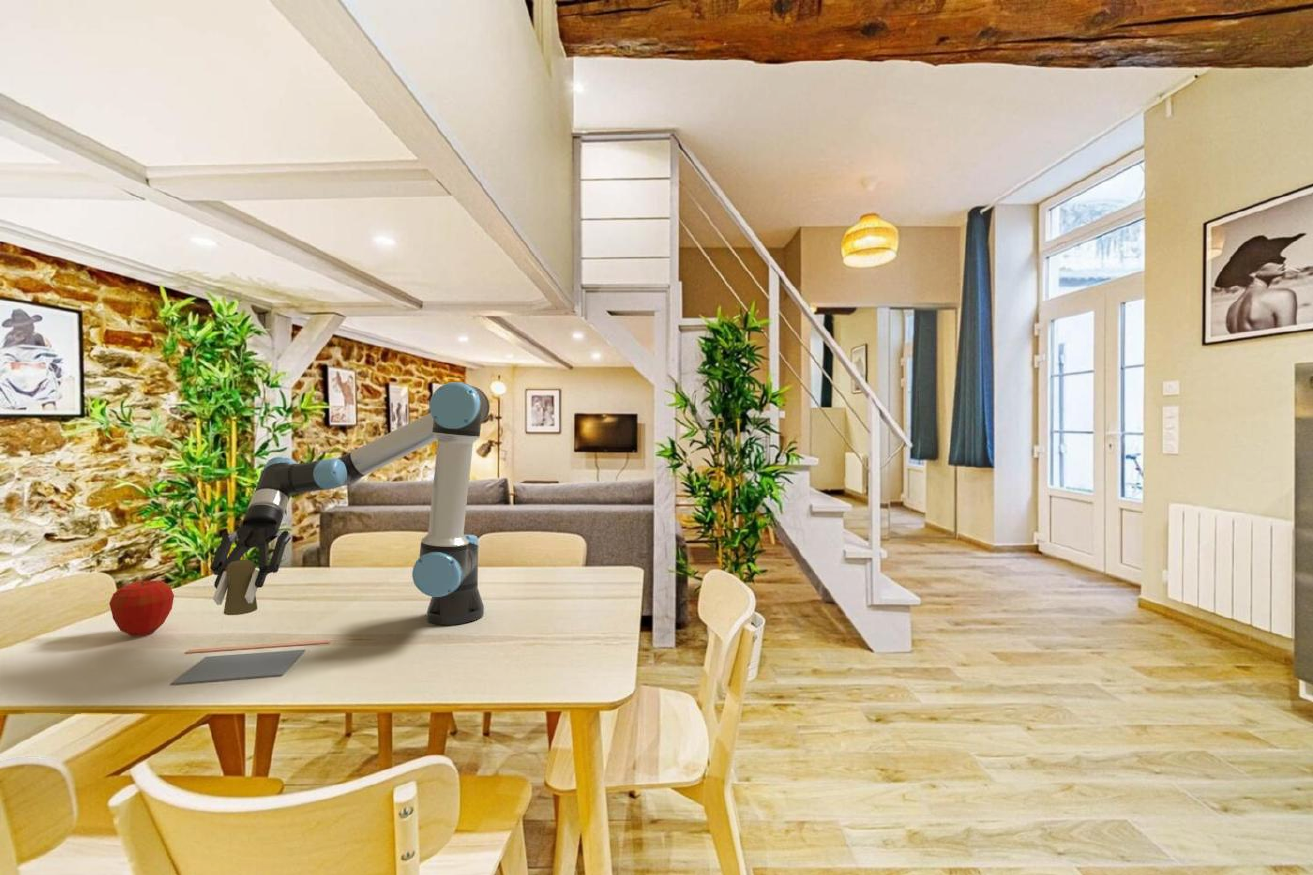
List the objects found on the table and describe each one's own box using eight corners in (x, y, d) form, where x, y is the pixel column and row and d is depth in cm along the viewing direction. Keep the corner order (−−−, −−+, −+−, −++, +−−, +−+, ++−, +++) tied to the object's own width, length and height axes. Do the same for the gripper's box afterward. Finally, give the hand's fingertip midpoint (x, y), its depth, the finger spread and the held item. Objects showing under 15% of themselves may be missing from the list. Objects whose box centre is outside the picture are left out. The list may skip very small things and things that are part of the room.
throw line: (331, 641, 141) (331, 639, 141) (329, 643, 140) (329, 642, 140) (188, 651, 134) (188, 649, 134) (184, 653, 132) (184, 652, 132)
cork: (235, 606, 128) (235, 557, 128) (263, 606, 129) (263, 557, 128) (216, 615, 122) (217, 564, 122) (246, 615, 123) (247, 563, 122)
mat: (304, 651, 135) (305, 649, 135) (282, 675, 121) (282, 674, 121) (205, 658, 130) (205, 656, 130) (170, 685, 116) (170, 683, 116)
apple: (107, 633, 144) (107, 578, 144) (169, 622, 153) (169, 570, 153) (111, 646, 136) (112, 587, 136) (177, 634, 144) (177, 578, 144)
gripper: (311, 521, 142) (285, 607, 127) (227, 522, 138) (189, 612, 122) (304, 502, 137) (276, 589, 121) (216, 503, 133) (175, 594, 117)
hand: (232, 600), depth 122 cm, fingers closed on cork, 5 cm apart
